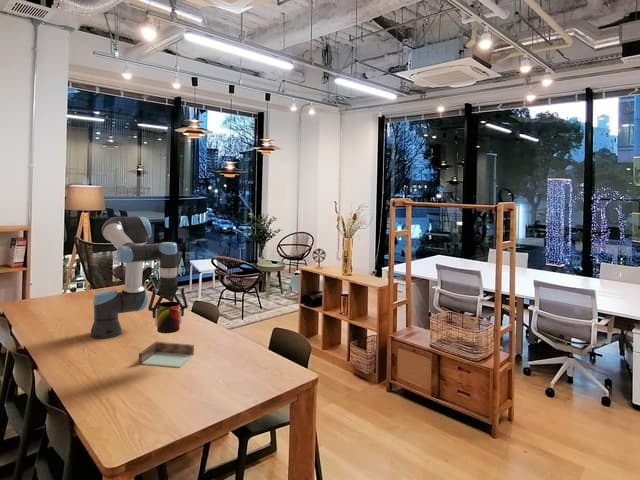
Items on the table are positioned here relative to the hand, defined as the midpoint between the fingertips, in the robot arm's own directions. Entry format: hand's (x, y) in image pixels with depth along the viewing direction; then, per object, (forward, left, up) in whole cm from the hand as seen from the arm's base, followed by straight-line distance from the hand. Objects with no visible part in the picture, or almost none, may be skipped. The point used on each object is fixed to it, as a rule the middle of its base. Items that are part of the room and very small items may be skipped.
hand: (168, 324), depth 194 cm
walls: (-2, +3, -18) cm, 19 cm away
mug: (0, 0, -2) cm, 2 cm away
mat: (-1, +2, -18) cm, 18 cm away
